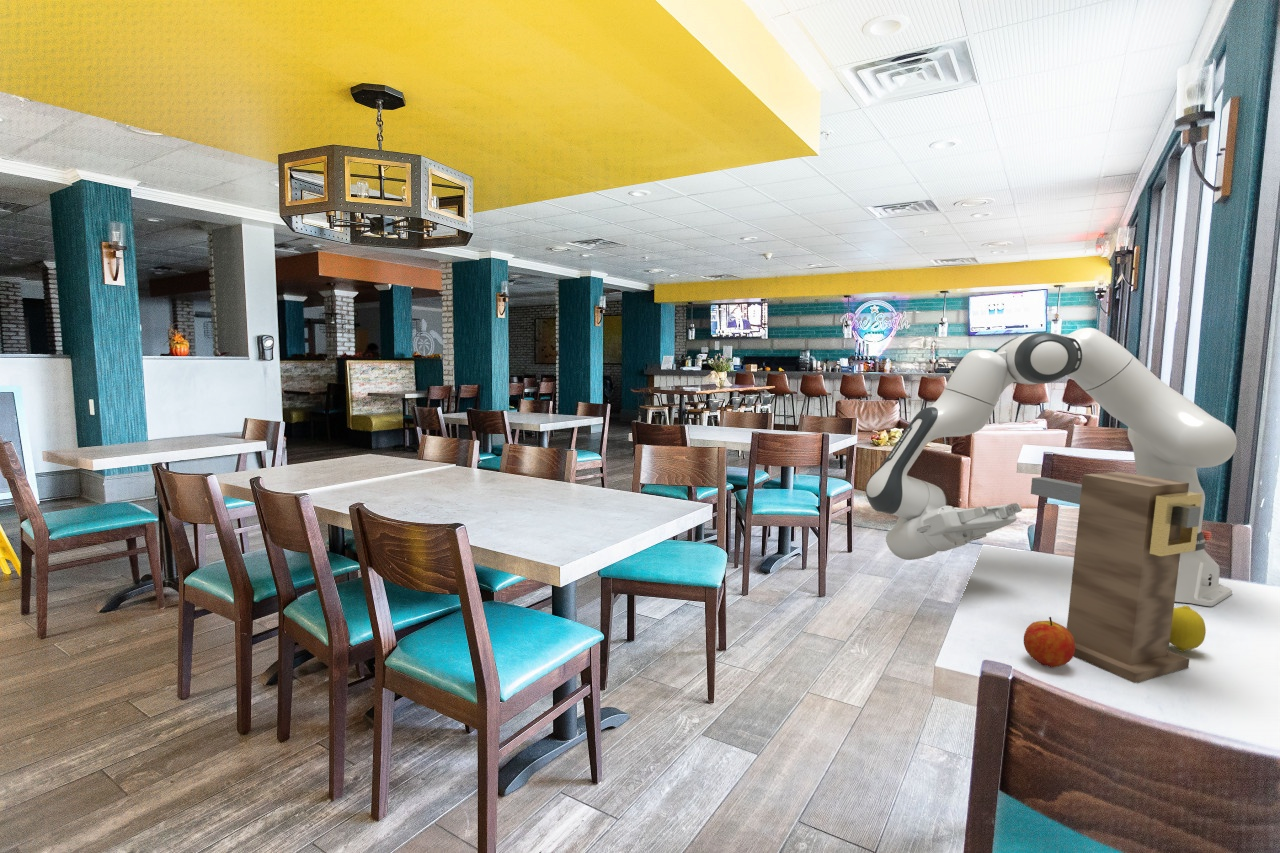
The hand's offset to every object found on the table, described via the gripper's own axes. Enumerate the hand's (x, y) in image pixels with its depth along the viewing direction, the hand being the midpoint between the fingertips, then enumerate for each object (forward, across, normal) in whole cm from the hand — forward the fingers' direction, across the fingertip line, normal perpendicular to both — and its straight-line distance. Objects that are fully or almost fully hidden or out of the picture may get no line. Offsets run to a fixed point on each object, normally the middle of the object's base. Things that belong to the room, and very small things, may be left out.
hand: (1002, 508), depth 124 cm
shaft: (+18, 0, +6) cm, 19 cm away
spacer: (+25, 0, +15) cm, 29 cm away
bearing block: (+10, 0, +28) cm, 30 cm away
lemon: (+12, +13, +30) cm, 35 cm away
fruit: (+8, -14, +28) cm, 32 cm away
